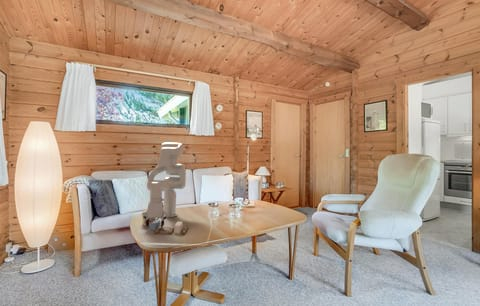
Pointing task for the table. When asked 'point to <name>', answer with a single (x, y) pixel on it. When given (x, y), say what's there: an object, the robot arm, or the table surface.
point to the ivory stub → (178, 227)
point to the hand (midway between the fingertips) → (154, 226)
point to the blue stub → (154, 225)
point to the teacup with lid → (149, 219)
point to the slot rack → (169, 231)
